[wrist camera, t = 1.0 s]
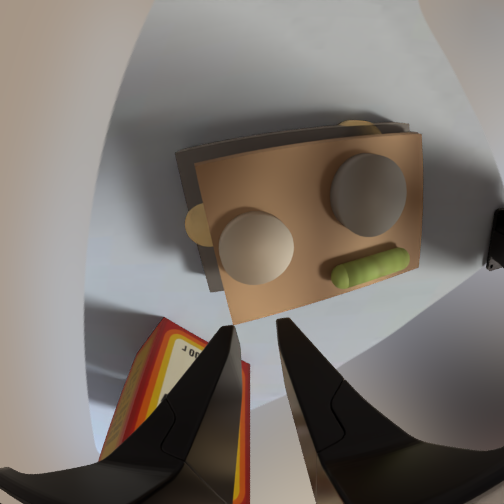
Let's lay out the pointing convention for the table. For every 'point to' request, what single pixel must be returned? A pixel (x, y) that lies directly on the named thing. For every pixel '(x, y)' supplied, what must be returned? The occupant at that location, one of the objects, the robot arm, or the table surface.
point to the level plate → (313, 219)
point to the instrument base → (188, 156)
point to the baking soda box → (160, 384)
